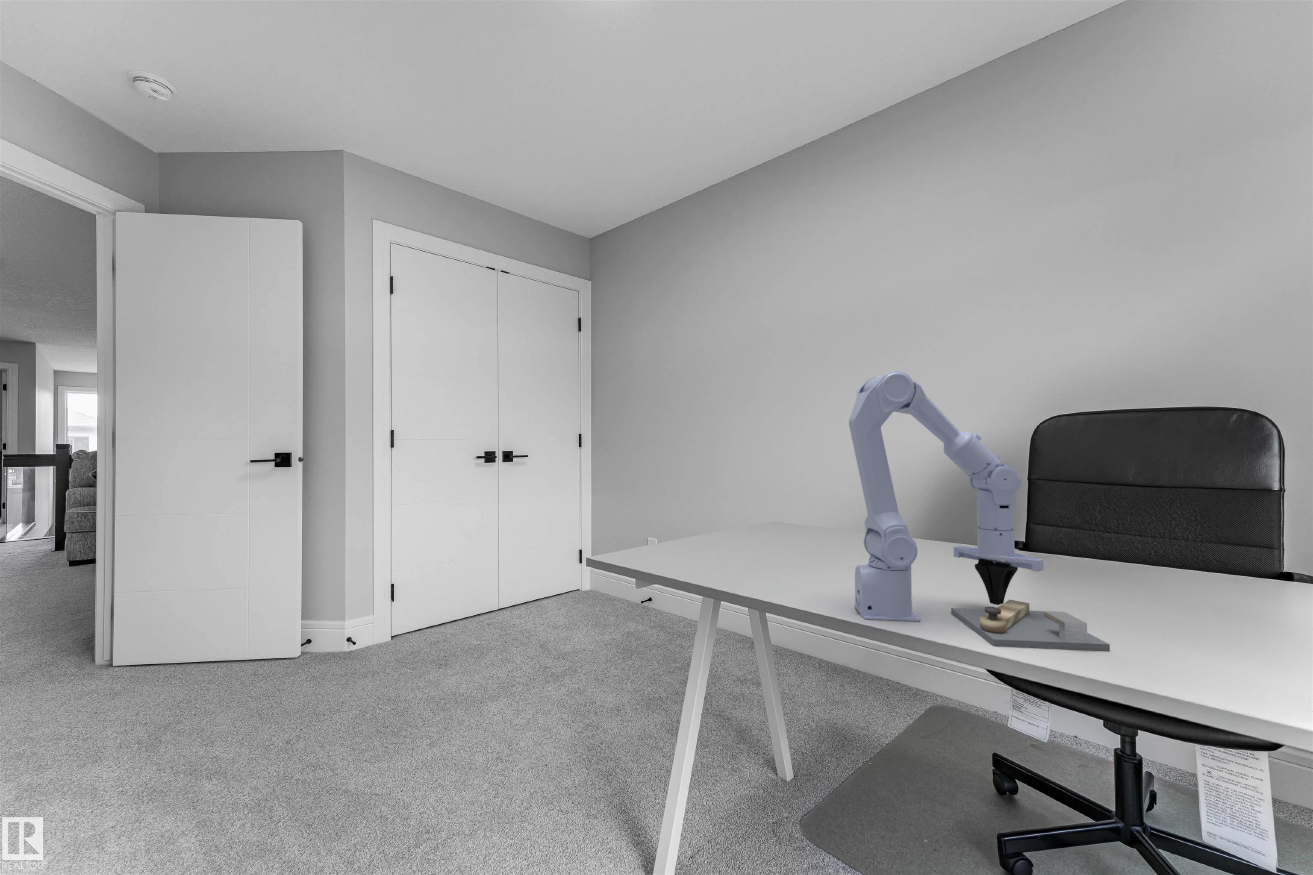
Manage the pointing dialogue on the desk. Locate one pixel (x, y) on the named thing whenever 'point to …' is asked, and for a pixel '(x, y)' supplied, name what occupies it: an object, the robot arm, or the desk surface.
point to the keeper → (1069, 627)
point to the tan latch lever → (1003, 616)
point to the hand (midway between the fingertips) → (996, 603)
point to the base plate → (1026, 632)
